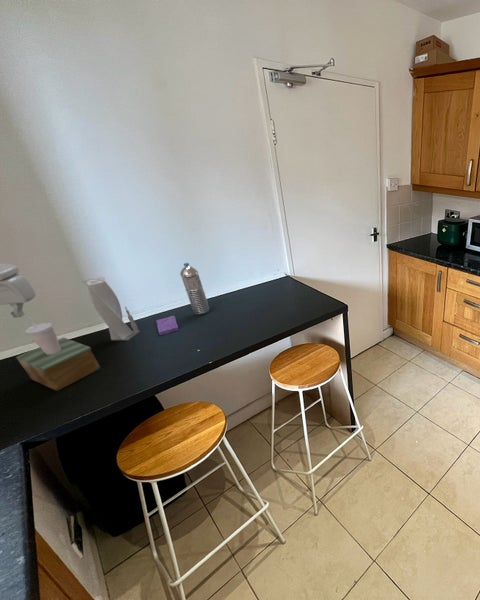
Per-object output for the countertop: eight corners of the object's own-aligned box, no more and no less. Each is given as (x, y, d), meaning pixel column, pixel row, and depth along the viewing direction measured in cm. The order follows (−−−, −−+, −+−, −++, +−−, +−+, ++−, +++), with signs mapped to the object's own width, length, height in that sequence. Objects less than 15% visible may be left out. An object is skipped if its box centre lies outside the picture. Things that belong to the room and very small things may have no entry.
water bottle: (205, 315, 148) (188, 266, 136) (190, 315, 148) (173, 266, 137) (213, 308, 154) (198, 260, 143) (199, 308, 154) (183, 260, 143)
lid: (91, 348, 110) (90, 347, 109) (44, 370, 99) (43, 368, 99) (64, 339, 115) (63, 337, 115) (17, 358, 104) (15, 356, 104)
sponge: (175, 318, 145) (174, 315, 144) (179, 330, 137) (177, 326, 136) (157, 323, 141) (155, 320, 141) (159, 335, 133) (158, 332, 132)
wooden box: (100, 368, 114) (90, 348, 110) (56, 391, 103) (42, 370, 99) (75, 358, 119) (64, 339, 115) (31, 379, 108) (17, 359, 104)
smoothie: (36, 354, 105) (12, 318, 99) (60, 344, 110) (39, 309, 104) (46, 359, 103) (23, 322, 97) (70, 348, 108) (50, 313, 102)
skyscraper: (125, 342, 128) (94, 280, 115) (105, 342, 128) (73, 280, 115) (140, 331, 136) (113, 271, 123) (122, 331, 136) (93, 271, 123)
